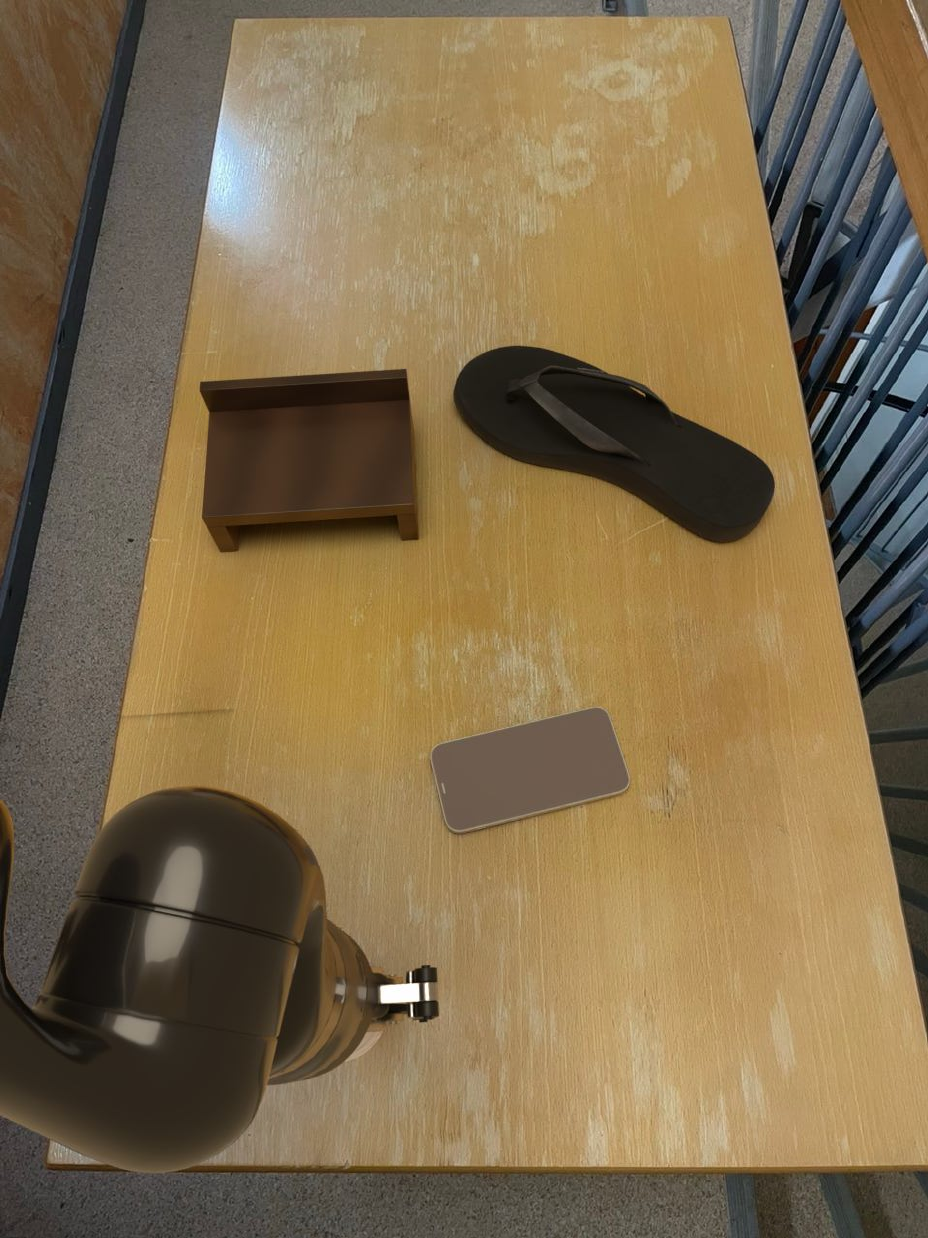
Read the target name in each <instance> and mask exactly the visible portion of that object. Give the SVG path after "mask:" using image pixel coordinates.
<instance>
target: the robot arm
mask: <svg viewBox="0 0 928 1238" xmlns="http://www.w3.org/2000/svg"><path fill="white" fill-rule="evenodd" d="M14 860H15V826H14V822H13V817H12V815H11V811H10V810H9V808H8V806H7V805H6V803H5V801H4V800H3V799H2V798H1V797H0V1116H1V1117H3V1118H5V1119H7V1120H9V1121H11V1122H13V1123H15V1124H17V1125H19V1126H21V1127H23V1128H25V1129H27V1130H30V1131H32V1132H34V1133H36V1134H38V1135H40V1136H41V1137H44V1138H46V1139H48V1140H50V1141H52V1142H54V1143H56V1144H58V1145H59V1146H60V1145H61V1146H62V1147H63V1148H64V1147H65V1148H66V1149H68V1150H71V1151H73V1152H75V1153H77V1154H79V1155H81V1156H82V1157H83V1156H84V1157H86V1158H89V1159H91V1160H95V1161H97V1162H100V1163H102V1164H105V1165H107V1166H110V1167H113V1168H116V1169H119V1170H124V1171H129V1172H135V1173H143V1174H167V1173H173V1172H178V1171H182V1170H186V1169H189V1168H193V1167H196V1166H198V1165H200V1164H202V1163H204V1162H206V1161H208V1160H210V1159H211V1158H213V1157H216V1156H217V1155H219V1154H221V1153H222V1152H224V1150H226V1149H227V1148H229V1147H230V1146H231V1145H233V1144H234V1143H235V1142H237V1141H238V1140H239V1138H241V1136H242V1135H244V1133H245V1132H246V1131H247V1130H248V1129H249V1127H250V1126H251V1124H252V1123H253V1121H254V1119H256V1118H255V1117H256V1116H257V1115H258V1111H259V1109H260V1106H261V1104H262V1101H263V1099H264V1096H265V1093H266V1088H267V1087H268V1086H278V1085H286V1084H290V1083H296V1082H301V1081H305V1080H310V1079H314V1078H318V1077H321V1076H323V1075H325V1074H328V1073H330V1072H331V1071H333V1070H335V1069H337V1068H338V1067H339V1066H340V1065H342V1064H343V1063H345V1062H344V1061H345V1060H346V1059H348V1058H349V1056H350V1055H351V1054H352V1053H353V1052H354V1051H355V1050H356V1048H357V1047H358V1046H359V1044H360V1043H361V1041H362V1040H363V1038H364V1036H365V1034H366V1032H378V1031H383V1032H384V1030H385V1029H386V1026H387V1023H388V1026H395V1025H398V1023H399V1022H400V1023H401V1022H404V1021H405V1020H404V1019H405V1017H404V1016H405V1015H406V1017H407V1019H409V1020H410V1019H412V1021H418V1023H419V1024H422V1023H429V1021H431V1020H432V1021H433V1020H435V1019H436V1018H438V1017H440V1004H439V983H438V967H436V966H435V967H434V966H432V967H431V964H421V966H420V967H417V968H414V970H413V969H410V970H406V971H405V983H403V982H404V981H403V976H397V974H387V975H386V973H385V970H384V968H383V967H382V966H380V965H372V966H370V964H371V963H370V961H369V960H368V958H367V956H366V954H365V953H364V951H363V949H362V948H361V947H360V945H359V943H357V942H356V940H355V939H354V938H353V937H351V935H350V934H348V933H347V932H345V931H344V930H343V929H341V927H339V926H337V925H336V924H335V923H334V922H333V921H331V920H330V919H329V918H328V913H327V895H326V886H325V880H324V879H325V878H324V875H323V872H322V869H321V866H320V863H319V861H318V859H317V857H316V855H315V853H314V851H313V849H312V848H311V846H310V845H309V844H308V842H307V841H306V839H305V838H304V837H303V836H302V835H301V833H300V832H299V831H298V830H296V828H295V827H293V826H292V825H291V824H290V823H289V822H287V821H286V820H285V819H284V818H283V817H282V816H280V815H279V814H278V813H277V812H275V811H273V810H272V809H270V808H268V807H267V806H265V805H264V804H262V803H260V802H258V801H256V800H254V799H252V798H250V797H248V796H246V795H242V794H240V793H237V792H234V791H231V790H226V789H222V788H217V787H211V786H203V785H200V786H199V785H184V786H175V787H169V788H163V789H158V790H155V791H153V792H149V793H148V794H145V795H143V796H141V797H138V798H137V799H135V800H133V801H131V802H129V803H127V804H126V805H125V806H124V807H122V808H121V809H120V810H119V811H117V812H116V813H115V814H113V816H112V817H111V818H110V819H109V820H108V821H107V822H106V823H105V824H104V825H103V827H102V828H101V830H100V831H99V833H98V834H97V835H96V837H95V838H94V841H93V843H92V845H91V846H90V848H89V851H88V853H87V856H86V858H85V860H84V864H83V866H82V868H81V871H80V875H79V877H78V881H77V883H76V886H75V889H74V892H73V894H74V896H75V897H76V898H74V899H72V900H71V901H70V903H69V904H70V905H69V908H68V910H67V913H66V916H65V918H64V922H63V924H62V927H61V930H60V933H59V936H58V939H57V942H56V944H55V947H54V949H53V952H52V956H51V958H50V962H49V965H48V967H47V970H46V973H45V975H44V978H43V981H42V984H41V986H40V991H41V992H39V994H38V995H37V997H36V1000H35V1003H34V1004H33V1006H32V1007H30V1006H29V1005H28V1004H27V1003H26V1002H25V1001H24V999H23V998H22V996H21V995H20V994H19V993H18V991H17V989H16V988H15V986H14V983H13V982H12V980H11V978H10V975H9V972H8V969H7V955H6V930H7V919H8V910H9V902H10V901H9V900H10V894H11V888H12V887H11V886H12V879H13V873H14ZM369 963H370V964H369ZM385 1025H386V1026H385Z"/></svg>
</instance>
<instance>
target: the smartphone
mask: <svg viewBox="0 0 928 1238" xmlns="http://www.w3.org/2000/svg"><path fill="white" fill-rule="evenodd" d="M429 757H430V760H429V761H430V764H431V768H432V769H431V770H432V774H433V778H434V782H435V786H436V790H437V794H438V798H439V803H440V807H441V811H442V815H443V820H444V823H445V826H446V828H447V829H448V830H449V831H450V832H451V833H453V834H457V835H458V834H459V835H461V834H466V833H471V832H474V831H478V830H483V829H486V828H490V827H495V826H499V825H503V824H507V823H511V822H515V821H518V820H522V819H523V820H524V819H527V818H531V817H535V816H539V815H543V814H548V813H550V812H555V811H559V810H563V809H566V808H571V807H574V806H575V807H576V806H579V805H583V804H587V803H591V802H595V801H598V800H605V799H607V798H611V797H617V796H619V795H621V794H624V793H625V792H626V791H627V789H628V788H629V786H630V783H631V776H630V773H629V770H628V765H627V763H626V760H625V757H624V754H623V751H622V748H621V744H620V742H619V739H618V736H617V733H616V730H615V727H614V723H613V720H612V717H611V715H610V713H609V712H608V710H607V709H605V707H604V708H603V707H602V706H590V707H585V708H581V709H577V710H573V711H568V712H565V713H564V712H563V713H561V714H555V715H552V716H548V717H543V718H540V719H535V720H531V721H526V722H522V723H519V724H518V723H517V724H515V725H510V726H506V727H502V728H498V729H493V730H489V731H485V732H481V733H476V734H472V735H468V736H464V737H459V738H455V739H451V740H447V741H442V742H439V743H437V744H436V745H434V746H433V747H432V748H431V751H430V754H429Z"/></svg>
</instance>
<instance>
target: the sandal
mask: <svg viewBox="0 0 928 1238" xmlns="http://www.w3.org/2000/svg"><path fill="white" fill-rule="evenodd" d="M452 397H453V402H454V404H455V407H456V409H457V410H458V412H459V414H460V415H461V417H462V418H463V419H464V421H465V423H467V425H469V426H470V427H471V428H472V430H473V431H474V432H475V433H476V434H477V435H478V436H479V437H480V438H481V439H482V440H483V441H485V442H486V443H487V444H489V445H490V446H491V447H493V448H494V449H496V450H497V451H499V452H501V453H502V454H505V455H506V456H508V457H511V458H512V459H515V460H518V461H521V462H524V463H528V464H532V465H535V466H542V467H546V468H547V467H548V468H553V469H558V470H563V471H569V472H573V473H578V474H583V475H586V476H590V477H595V478H597V479H601V480H604V481H606V482H609V483H611V484H613V485H616V486H617V487H620V488H623V490H624V489H625V490H626V491H628V492H630V493H632V494H634V495H635V496H637V497H639V498H640V499H642V500H644V501H646V502H647V503H648V504H650V505H651V506H653V507H654V508H656V509H657V510H658V511H660V512H661V513H663V514H664V515H666V516H667V517H668V518H670V519H672V520H673V521H675V522H676V523H678V524H679V525H681V526H683V527H684V528H686V529H687V530H689V531H691V532H692V533H693V534H696V535H698V536H699V537H702V538H704V539H706V540H708V541H713V542H719V543H726V542H733V541H737V540H739V539H742V538H743V537H745V536H747V535H748V534H750V533H751V532H752V531H753V530H754V529H755V528H756V527H758V525H759V524H760V522H761V521H762V519H763V517H764V516H765V513H766V512H767V510H768V509H769V506H770V504H771V502H772V500H773V498H774V494H775V489H776V482H775V477H774V474H773V473H772V469H770V467H769V466H768V465H767V463H766V462H765V461H764V460H763V459H762V458H760V457H759V456H758V455H757V454H755V452H752V451H751V450H749V449H747V448H746V447H744V446H743V445H741V444H739V443H737V442H736V441H733V440H732V439H730V438H728V437H725V436H724V435H722V434H720V433H718V432H716V431H713V430H712V429H710V428H708V427H705V426H703V425H701V424H700V423H697V422H695V421H693V420H690V419H688V418H686V417H685V416H682V415H680V414H678V413H675V411H672V410H671V409H670V407H669V406H668V404H667V403H666V402H665V401H664V400H663V399H662V398H661V397H660V396H659V395H657V394H656V393H655V392H654V391H653V390H652V389H650V387H648V386H647V385H646V384H643V383H641V382H638V381H635V380H633V379H629V378H627V377H624V376H620V375H617V374H611V373H609V372H606V370H603V369H601V368H599V367H597V366H595V365H593V364H591V363H588V362H586V361H584V360H580V359H578V358H575V357H572V356H570V355H566V354H565V353H562V352H557V351H554V350H550V349H547V348H543V347H536V346H529V345H507V346H501V347H497V348H494V349H491V350H487V351H485V352H483V353H480V354H478V355H476V356H475V357H473V358H471V360H469V361H468V362H467V363H466V364H465V365H464V366H463V368H462V369H461V370H460V371H459V373H458V376H457V378H456V381H455V384H454V388H453V392H452Z"/></svg>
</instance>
